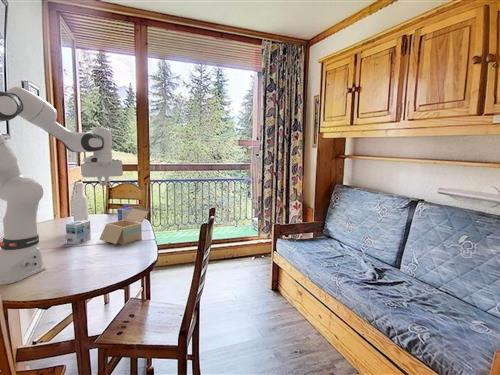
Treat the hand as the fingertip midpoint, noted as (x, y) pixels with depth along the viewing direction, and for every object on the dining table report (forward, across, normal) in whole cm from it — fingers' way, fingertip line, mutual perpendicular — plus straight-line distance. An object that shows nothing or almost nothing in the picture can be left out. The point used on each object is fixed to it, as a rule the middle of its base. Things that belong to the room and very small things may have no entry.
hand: (103, 185), depth 161 cm
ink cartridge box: (+31, -26, -23) cm, 47 cm away
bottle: (+32, -2, -32) cm, 45 cm away
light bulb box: (+32, +7, -13) cm, 35 cm away
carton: (+31, -9, +1) cm, 33 cm away
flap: (+18, -20, -1) cm, 27 cm away
